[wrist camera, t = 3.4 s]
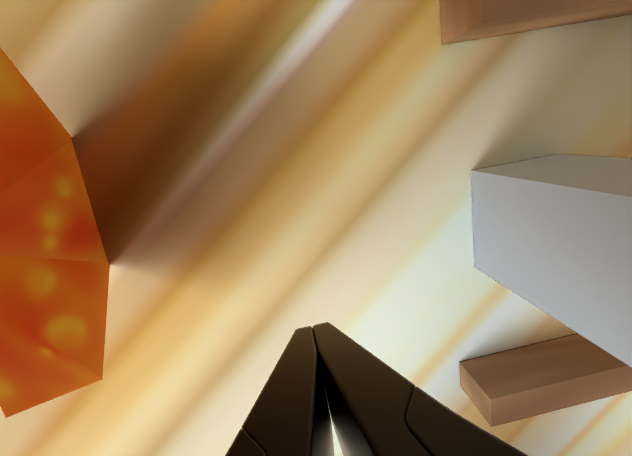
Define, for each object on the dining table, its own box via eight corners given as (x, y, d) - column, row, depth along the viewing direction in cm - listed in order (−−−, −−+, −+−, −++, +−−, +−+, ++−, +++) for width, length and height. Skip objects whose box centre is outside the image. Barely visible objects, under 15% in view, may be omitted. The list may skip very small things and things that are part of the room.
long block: (553, 249, 16) (996, 425, 6) (474, 267, 15) (809, 480, 6) (557, 153, 14) (1123, 186, 5) (470, 170, 14) (891, 240, 5)
